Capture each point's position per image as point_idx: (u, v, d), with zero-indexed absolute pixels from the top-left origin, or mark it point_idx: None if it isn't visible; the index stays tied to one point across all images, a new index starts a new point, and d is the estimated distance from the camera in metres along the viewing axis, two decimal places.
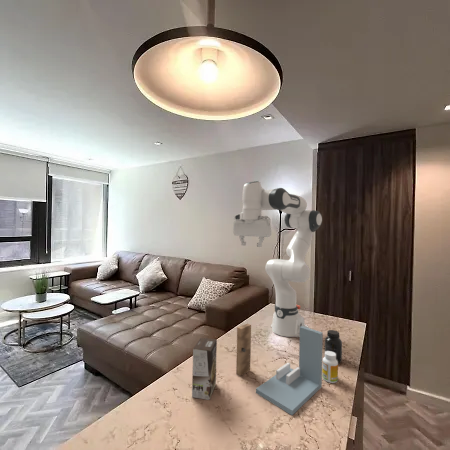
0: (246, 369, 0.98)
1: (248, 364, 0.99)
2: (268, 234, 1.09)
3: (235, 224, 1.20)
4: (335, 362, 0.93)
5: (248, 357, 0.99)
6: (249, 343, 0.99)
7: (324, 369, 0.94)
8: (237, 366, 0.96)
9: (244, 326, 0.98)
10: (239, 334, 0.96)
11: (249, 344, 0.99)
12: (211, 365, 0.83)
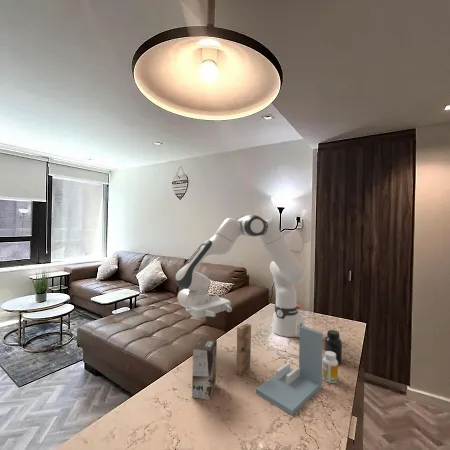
0: (246, 369, 0.98)
1: (248, 364, 0.99)
2: (195, 315, 1.04)
3: None
4: (335, 362, 0.93)
5: (248, 357, 0.99)
6: (249, 343, 0.99)
7: (324, 369, 0.94)
8: (237, 366, 0.96)
9: (244, 326, 0.98)
10: (239, 334, 0.96)
11: (249, 344, 0.99)
12: (211, 365, 0.83)
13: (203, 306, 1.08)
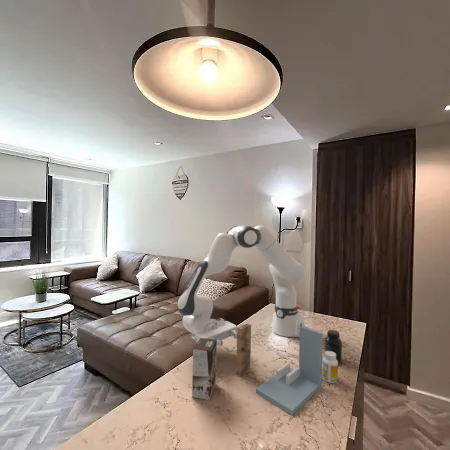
0: (246, 369, 0.98)
1: (248, 364, 0.99)
2: None
3: None
4: (335, 362, 0.93)
5: (248, 357, 0.99)
6: (249, 343, 0.99)
7: (324, 369, 0.94)
8: (237, 366, 0.96)
9: (244, 326, 0.98)
10: (239, 334, 0.96)
11: (249, 344, 0.99)
12: (211, 365, 0.83)
13: (209, 333, 1.05)
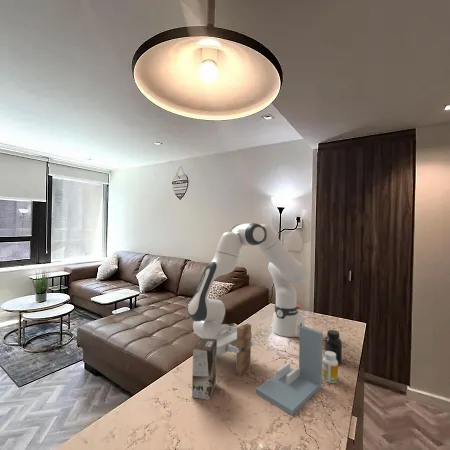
0: (246, 369, 0.98)
1: (248, 364, 0.99)
2: (216, 351, 0.95)
3: None
4: (335, 362, 0.93)
5: (248, 357, 0.99)
6: (249, 343, 0.99)
7: (324, 369, 0.94)
8: (237, 366, 0.96)
9: (244, 326, 0.98)
10: (239, 334, 0.96)
11: (249, 344, 0.99)
12: (211, 365, 0.83)
13: (223, 340, 0.99)
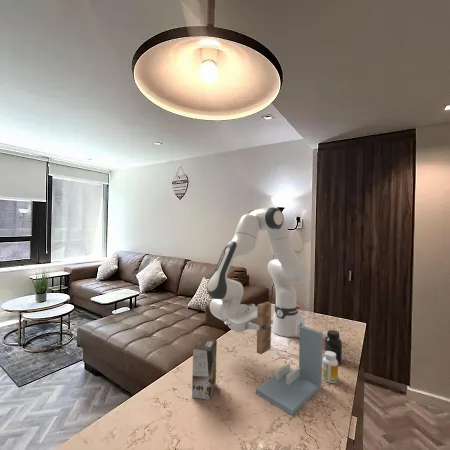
0: (266, 347, 0.96)
1: (268, 342, 0.97)
2: (236, 329, 0.93)
3: None
4: (335, 362, 0.93)
5: (268, 335, 0.96)
6: (269, 321, 0.97)
7: (324, 369, 0.94)
8: (258, 344, 0.94)
9: (264, 303, 0.96)
10: (259, 311, 0.94)
11: (269, 322, 0.97)
12: (211, 365, 0.83)
13: (243, 318, 0.97)
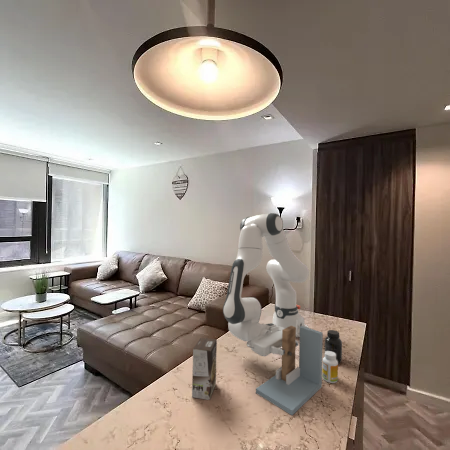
0: None
1: (293, 368, 0.94)
2: (261, 353, 0.90)
3: None
4: (335, 362, 0.93)
5: (293, 361, 0.93)
6: (294, 346, 0.94)
7: (324, 369, 0.94)
8: (283, 371, 0.91)
9: (289, 328, 0.93)
10: (284, 337, 0.91)
11: (294, 347, 0.94)
12: (211, 365, 0.83)
13: (267, 341, 0.94)
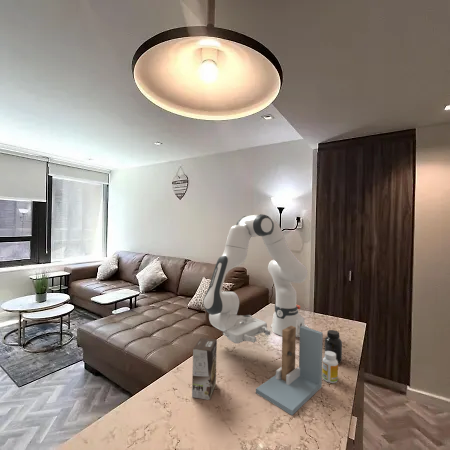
0: None
1: (293, 368, 0.94)
2: (235, 340, 0.99)
3: None
4: (335, 362, 0.93)
5: (293, 361, 0.93)
6: (294, 346, 0.94)
7: (324, 369, 0.94)
8: (283, 371, 0.91)
9: (289, 328, 0.93)
10: (284, 337, 0.91)
11: (294, 347, 0.94)
12: (211, 365, 0.83)
13: (241, 330, 1.03)
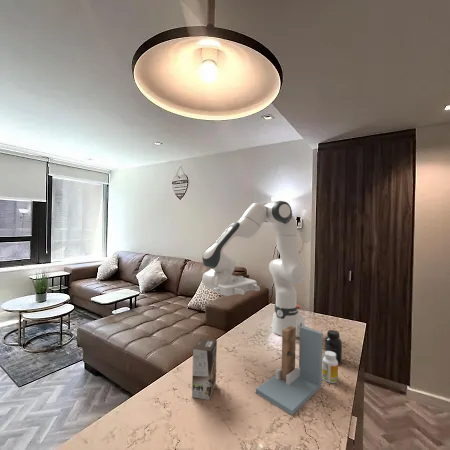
0: None
1: (293, 368, 0.94)
2: (225, 292, 1.03)
3: None
4: (335, 362, 0.93)
5: (293, 361, 0.93)
6: (294, 346, 0.94)
7: (324, 369, 0.94)
8: (283, 371, 0.91)
9: (289, 328, 0.93)
10: (284, 337, 0.91)
11: (294, 347, 0.94)
12: (211, 365, 0.83)
13: (231, 285, 1.07)
